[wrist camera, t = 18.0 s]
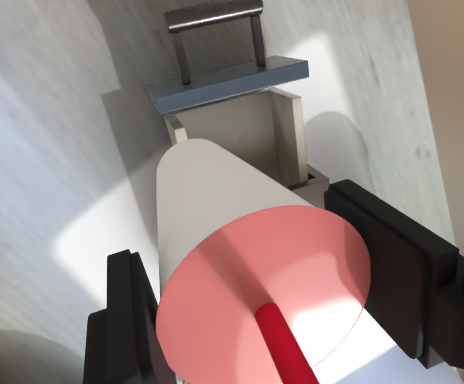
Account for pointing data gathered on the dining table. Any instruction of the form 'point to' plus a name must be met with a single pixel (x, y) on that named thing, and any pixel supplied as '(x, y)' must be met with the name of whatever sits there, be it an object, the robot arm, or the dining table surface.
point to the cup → (249, 272)
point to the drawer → (236, 97)
